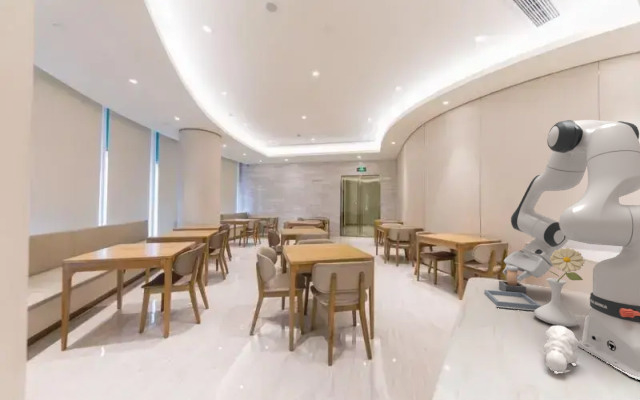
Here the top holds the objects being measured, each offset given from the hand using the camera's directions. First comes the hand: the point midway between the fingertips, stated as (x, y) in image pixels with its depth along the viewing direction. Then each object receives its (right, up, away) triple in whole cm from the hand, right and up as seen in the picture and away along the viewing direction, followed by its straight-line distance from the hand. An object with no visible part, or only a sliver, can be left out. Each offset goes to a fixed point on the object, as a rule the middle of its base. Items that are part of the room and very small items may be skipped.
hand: (510, 276), depth 118 cm
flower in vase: (-3, -8, -27) cm, 29 cm away
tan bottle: (+1, -7, 0) cm, 7 cm away
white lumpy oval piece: (-24, -8, -51) cm, 57 cm away
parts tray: (-7, -8, -10) cm, 15 cm away
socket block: (+1, -8, 0) cm, 8 cm away
